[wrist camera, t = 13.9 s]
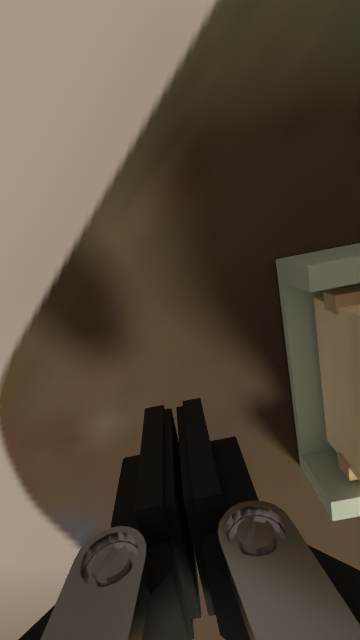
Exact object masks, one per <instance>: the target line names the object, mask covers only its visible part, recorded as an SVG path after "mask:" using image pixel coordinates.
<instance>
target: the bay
mask: <svg viewBox="0 0 360 640" xmlns="http://www.w3.org/2000/svg"><path fill="white" fill-rule="evenodd" d="M276 268H277V276H278V285H279V293H280V301H281V310H282V318H283V326H284V335H285V343H286V352H287V360H288V368H289V377H290V385H291V393H292V402H293V410H294V419H295V427H296V435H297V444H298V452H299V460H300V467H301V468H302V470H303V472H304V474H305V475H306V477H307V479H308V480H309V482H310V484H311V485H312V487H313V489H314V490H315V492H316V494H317V496H318V497H319V499H320V501H321V502H322V504H323V506H324V507H325V509H326V511H327V512H328V514H329V516H330V518H331V519H332V521H336V520H342V519H347V518H352V517H357V516H360V481H359V480H353V481H349V480H348V478H347V477H346V476H345V474H344V473H343V472H342V470H341V469H340V468H339V466H338V454H337V452H336V451H335V450H334V448H333V447H332V446H331V445H330V443H329V442H328V441H327V435H326V424H325V414H324V404H323V393H322V383H321V372H320V362H319V351H318V341H317V330H316V320H315V309H314V299H313V297H318V296H323V292H326V291H331V290H336V289H341V288H346V287H352V286H357V285H360V243H357V244H352V245H347V246H342V247H336V248H331V249H326V250H321V251H316V252H311V253H305V254H300V255H295V256H290V257H285V258H280V259H276Z"/></svg>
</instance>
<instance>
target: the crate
mask: <svg viewBox="0 0 360 640" xmlns="http://www.w3.org/2000/svg"><path fill="white" fill-rule="evenodd" d="M313 299H314V309H315V320H316V330H317V341H318V351H319V362H320V372H321V383H322V393H323V404H324V414H325V424H326V435H327V441H328V442H329V443H330V445H331V446H332V447H333V448H334V450H335V451H336V452H337V454H338V466H339V468H340V469H341V470H342V472H343V473H344V474H345V476H346V477H347V478H348V480H349V481H353V480H359V481H360V285H357V286H352V287H346V288H341V289H336V290H331V291H326V292H323V296H318V297H313Z"/></svg>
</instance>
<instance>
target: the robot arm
mask: <svg viewBox="0 0 360 640" xmlns="http://www.w3.org/2000/svg"><path fill="white" fill-rule="evenodd" d="M176 408H177V422H178V435H179V442H178V437H177V433H176V428H175V423H174V419H173V414H172V410H171V409H165V408H164V405H161V406H156V407H151V408H145V415H144V424H143V433H142V442H141V451H140V455H137V456H132V457H126V458H124V459H123V462H122V468H121V473H120V479H119V484H118V490H117V495H116V500H115V506H114V511H113V517H112V522H111V528H108V529H106V530H104V531H102V532H100V533H98V534H96V535H95V536H94V537H92V538H91V539H90V540H88V542H87V543H86V544H85V545H84V546H83V547H82V548H81V549H80V551H79V553H78V554H77V556H76V558H75V560H74V562H73V564H72V567H71V569H70V571H69V574H68V576H67V579H66V581H65V584H64V586H63V588H62V590H61V593H60V595H59V597H58V600H57V602H56V604H55V605H54V606H53V607H52V608H51V609H50V610H49V611H48V612H47V613H46V614H45V615H44V616H43V617H42V618H41V619H40V620H39V621H38V622H37V623H35V624H34V625H33V626H32V627H31V628H30V629H29V630H28V631H27V632H26V633H25V634H24V635H23V636H22V637H21V638H20V639H19V640H191V639H194V631H193V619H197V618H201V607H200V597H199V587H198V577H197V567H196V561H197V566H198V570H199V575H200V579H201V584H202V588H203V593H204V597H205V602H206V606H207V611H208V615H209V616H212V615H216V617H217V622H218V627H219V631H220V635H221V636H222V637H223V638H225V639H226V640H360V571H359V570H357V569H355V568H353V567H351V566H349V565H347V564H345V563H343V562H341V561H339V560H337V559H335V558H333V557H331V556H329V555H327V554H325V553H323V552H321V551H319V550H317V549H315V548H313V547H311V546H308V545H307V544H306V542H305V541H304V539H303V537H302V536H301V534H300V533H299V531H298V530H297V528H296V527H295V525H294V524H293V522H292V521H291V519H290V518H289V517H288V515H287V514H286V513H285V512H284V511H283V510H282V509H280V508H279V507H277V506H275V505H274V504H271V503H268V502H264V501H259V500H258V497H257V495H256V492H255V489H254V486H253V484H252V481H251V478H250V475H249V472H248V470H247V467H246V464H245V461H244V459H243V456H242V453H241V450H240V447H239V445H238V442H237V439H236V437H229V438H224V439H219V440H214V441H210V439H209V435H208V430H207V426H206V422H205V417H204V413H203V408H202V404H201V399H200V398H197V399H192V400H187V401H183V406H181V407H176ZM195 556H196V557H195Z"/></svg>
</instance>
